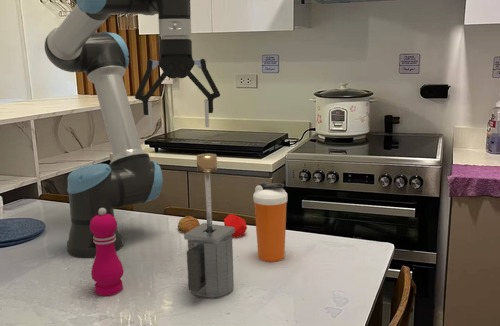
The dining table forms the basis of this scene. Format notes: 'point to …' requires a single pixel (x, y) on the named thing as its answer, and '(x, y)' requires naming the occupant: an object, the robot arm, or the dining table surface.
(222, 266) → the faceted grey canister
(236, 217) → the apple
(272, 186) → the shaker bottle
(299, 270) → the dining table surface
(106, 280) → the pepper mill
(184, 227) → the pastry
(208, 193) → the plunger
